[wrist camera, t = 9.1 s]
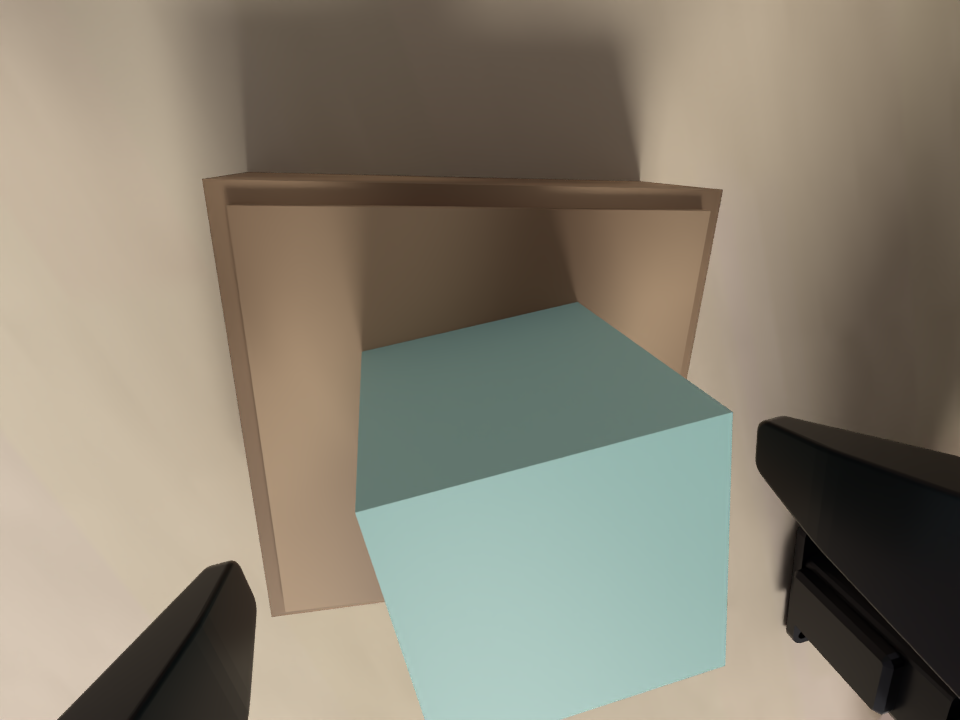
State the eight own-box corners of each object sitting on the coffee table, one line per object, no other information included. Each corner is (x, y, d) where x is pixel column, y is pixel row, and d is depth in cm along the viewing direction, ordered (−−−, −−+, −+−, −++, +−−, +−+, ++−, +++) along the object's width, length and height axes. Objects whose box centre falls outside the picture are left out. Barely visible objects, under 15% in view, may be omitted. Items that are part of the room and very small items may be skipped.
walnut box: (633, 180, 14) (732, 190, 10) (593, 482, 18) (656, 573, 14) (250, 171, 12) (197, 179, 9) (293, 512, 16) (269, 627, 12)
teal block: (577, 301, 11) (732, 412, 6) (595, 478, 12) (725, 665, 8) (362, 351, 10) (354, 513, 6) (412, 528, 12) (438, 758, 7)
